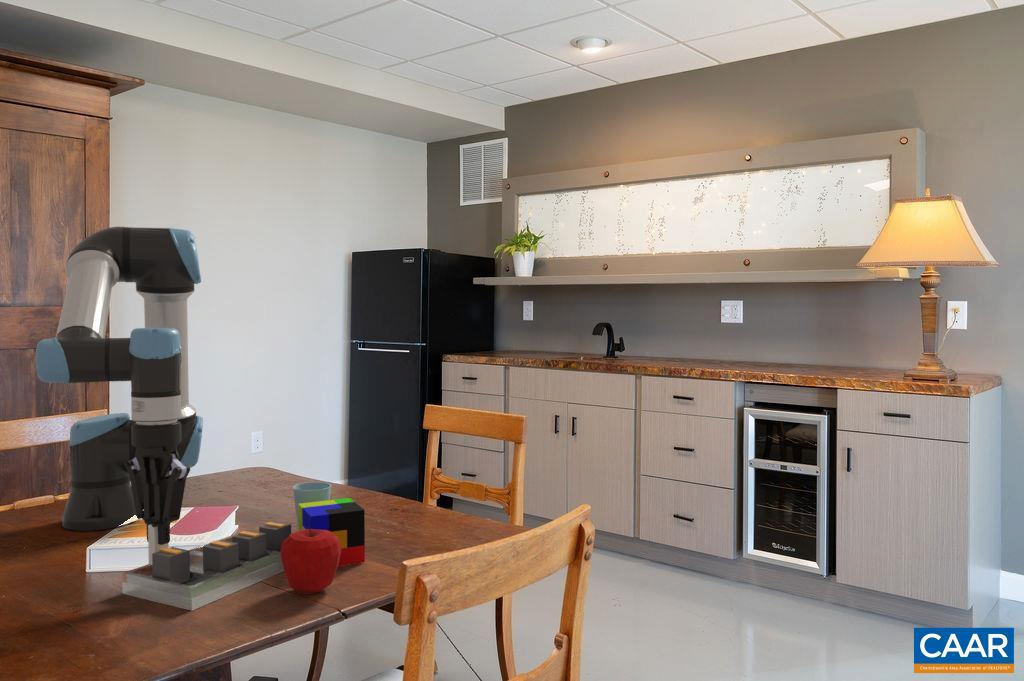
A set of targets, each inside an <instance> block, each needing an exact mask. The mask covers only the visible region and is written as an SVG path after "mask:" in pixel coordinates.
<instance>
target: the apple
mask: <svg viewBox="0 0 1024 681" xmlns="http://www.w3.org/2000/svg"><path fill="white" fill-rule="evenodd" d="M341 550H342V549H341V546H340V543H339V540H338V538H337V537H336V536H335V535H334V534H333V533H332V532H331V531H327V530H317V529H310V528H309V529H304V530H300V531H298V530H296V531H294V532H291V534H290V535H289V536H288V537H287V538H286V539H285V540H284V541H283V542H282V546H281V551H280V555H281V559H282V564H283V569H284V571H283V572H284V574H285V578H286V581H287V583H288V585H289V588H291V589H292V590H294V591H296V592H297V593H300V594H303V595H309V594H317V593H321V592H322V591H324V590H325V589H326V588H328V587H329V586H330V585H331V584H332V583H333V581H334V578H335V575H336V573H337V569H338V567H339V566H338V564H339V559H340V554H341Z"/></svg>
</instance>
